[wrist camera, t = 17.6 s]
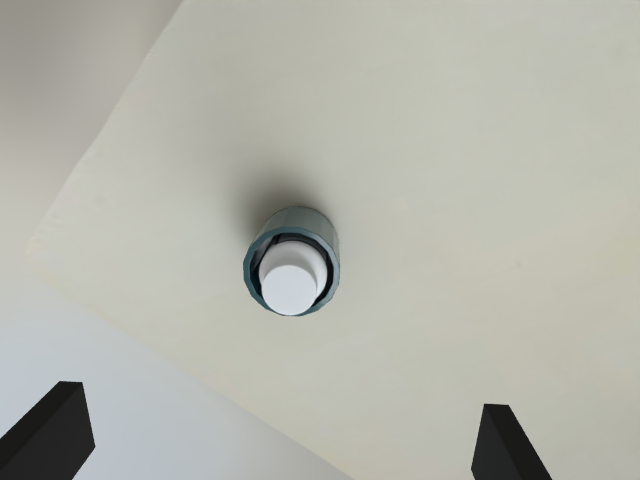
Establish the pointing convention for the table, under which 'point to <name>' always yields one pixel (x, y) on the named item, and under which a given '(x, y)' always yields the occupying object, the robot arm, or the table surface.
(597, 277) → the table surface
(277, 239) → the pill bottle
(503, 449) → the robot arm
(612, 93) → the table surface
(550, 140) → the table surface
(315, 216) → the cup
